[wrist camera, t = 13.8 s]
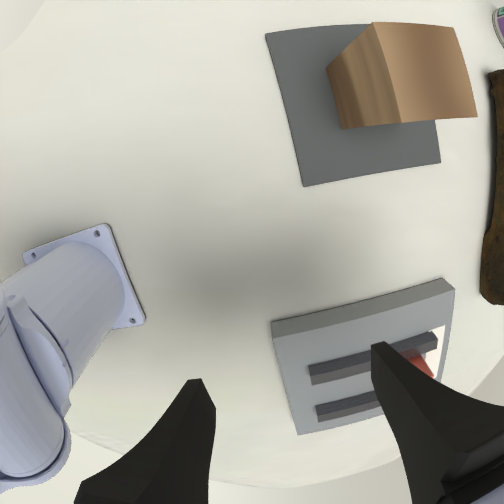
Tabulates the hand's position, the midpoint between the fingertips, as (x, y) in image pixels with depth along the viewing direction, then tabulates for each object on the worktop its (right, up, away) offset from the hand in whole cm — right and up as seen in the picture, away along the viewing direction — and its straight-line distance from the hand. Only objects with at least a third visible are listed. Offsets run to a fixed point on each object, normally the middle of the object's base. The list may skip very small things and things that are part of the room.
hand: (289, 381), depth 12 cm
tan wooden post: (+5, +15, +4) cm, 16 cm away
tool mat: (+5, +15, +4) cm, 17 cm away
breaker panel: (+8, -4, +11) cm, 14 cm away
